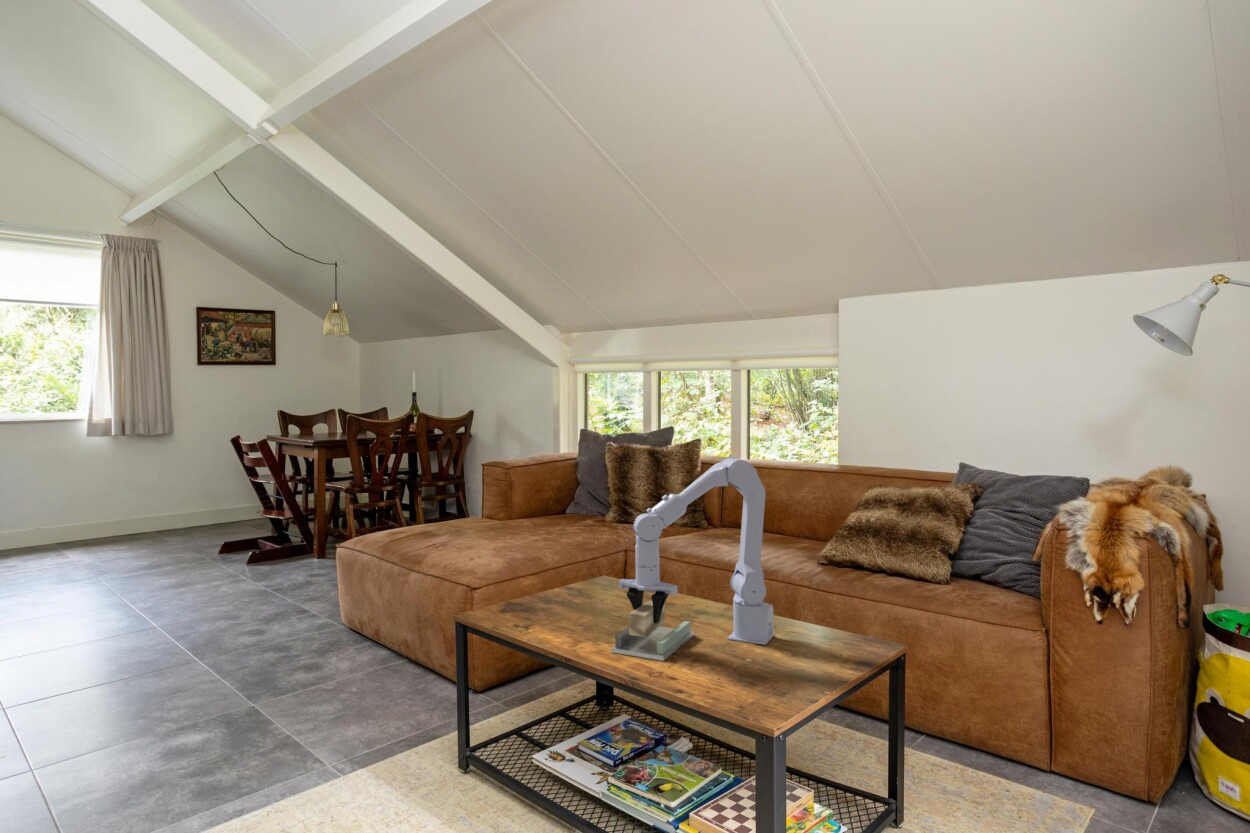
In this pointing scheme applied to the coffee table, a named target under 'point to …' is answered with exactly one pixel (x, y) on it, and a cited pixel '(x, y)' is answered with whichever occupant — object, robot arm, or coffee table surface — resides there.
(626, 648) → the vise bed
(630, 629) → the wood bar
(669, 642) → the bar
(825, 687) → the coffee table surface
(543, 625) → the coffee table surface
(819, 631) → the coffee table surface
